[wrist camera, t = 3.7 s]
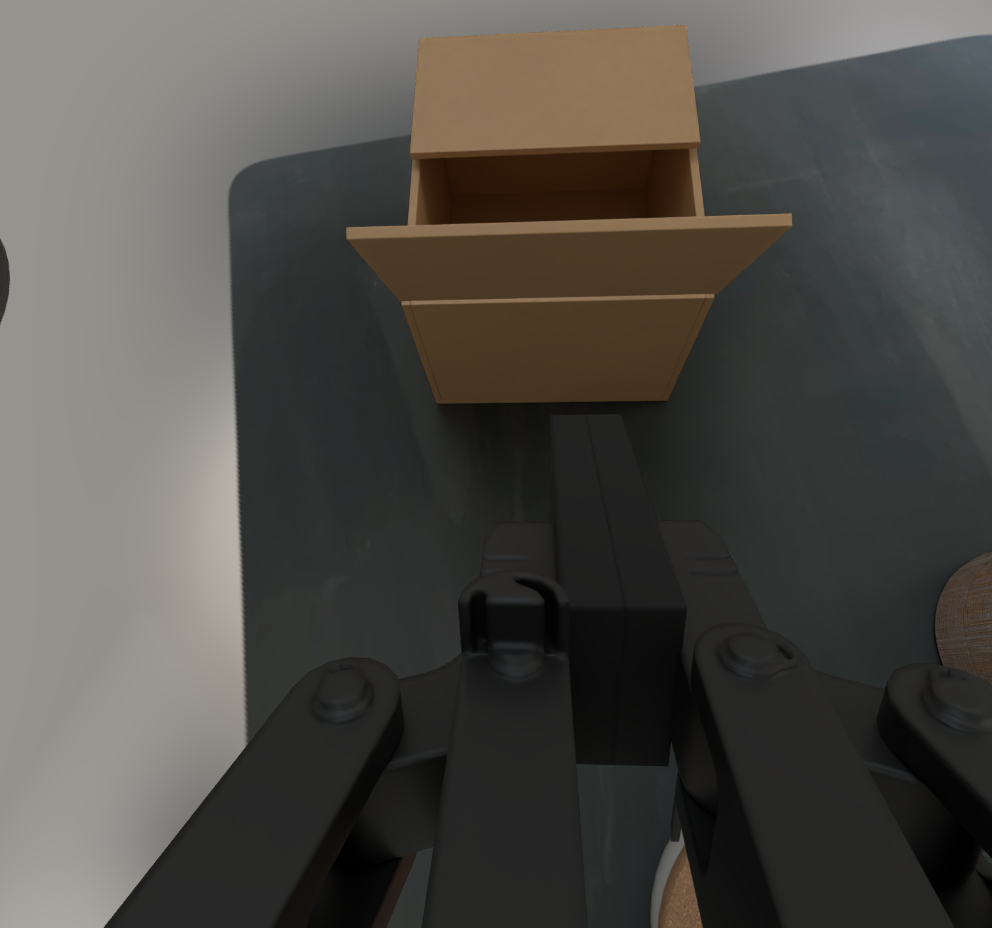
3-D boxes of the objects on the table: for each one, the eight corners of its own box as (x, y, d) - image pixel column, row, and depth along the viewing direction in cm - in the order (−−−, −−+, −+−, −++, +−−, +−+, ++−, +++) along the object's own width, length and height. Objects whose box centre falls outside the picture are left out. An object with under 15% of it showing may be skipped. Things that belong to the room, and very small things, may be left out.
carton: (668, 400, 37) (720, 286, 27) (436, 403, 38) (397, 294, 27) (649, 188, 42) (687, 23, 32) (446, 195, 43) (417, 36, 33)
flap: (717, 284, 27) (717, 294, 27) (399, 292, 28) (399, 301, 28) (792, 212, 19) (792, 226, 19) (345, 227, 20) (346, 239, 20)
